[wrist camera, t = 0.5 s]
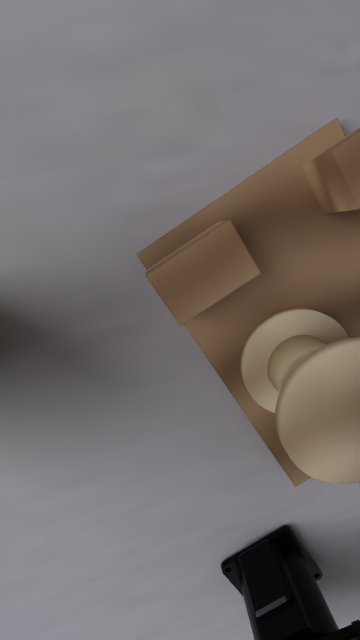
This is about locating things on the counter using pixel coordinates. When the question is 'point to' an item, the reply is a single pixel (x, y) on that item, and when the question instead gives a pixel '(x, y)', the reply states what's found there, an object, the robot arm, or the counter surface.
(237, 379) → the board
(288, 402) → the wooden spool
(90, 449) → the counter surface
